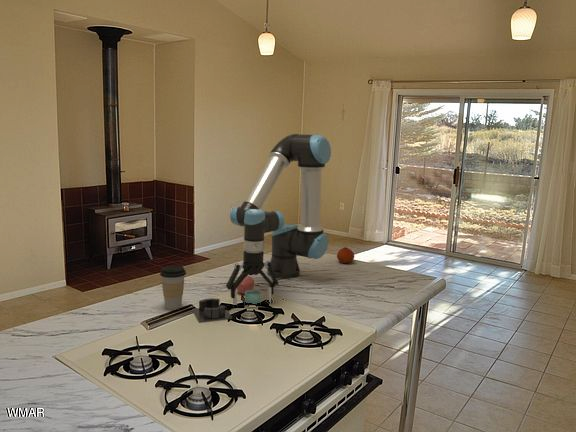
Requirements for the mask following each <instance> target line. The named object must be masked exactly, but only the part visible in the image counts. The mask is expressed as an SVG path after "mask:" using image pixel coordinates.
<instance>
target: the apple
mask: <svg viewBox="0 0 576 432" xmlns="http://www.w3.org/2000/svg"><path fill="white" fill-rule="evenodd" d="M254 288H255V280H254V278H253V277H252V276H251V275H248V276H247V277H245V278H244V280H243V281H242V282H241V283H240V284H239V286H238V287H237V288H236V290H237V292H239V293H240V294H244V295H245V291H247V290H254Z"/></svg>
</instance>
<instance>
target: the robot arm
mask: <svg viewBox="0 0 576 432" xmlns="http://www.w3.org/2000/svg"><path fill="white" fill-rule="evenodd" d="M331 148H332V147H331V144H330V141H329V140H328V139H327V137H325V136H323V135H318V134H300V133H299V134H298V133H291V134H289V135H287V136H285V137H283V138H282V139H281V140H280V141H278V142H277V143H276V145H274V146H273V148H272V149H271V150H270V152H269V154H268V158H269V159H268V160H267V162H266V164H265V165H264V167H263V169H262V170H261V172H260V174H259V175H258V177H257V179H256V180H255V183H254V184H253V185H252V187H251V189H250V191H249V192H248V194H247V195H246V197H245V199H244V200H243V203H242V204H241V206H235V207H233V208H232V209H231V210H230V214H229V219H230V221H231V223H232V224H233V225H235V226H239V227H244V229H243V232H244V233H243V234H244V235H243V258H242V261H243V262H242V264H240V263H239V264H238V262H237V263H235V264H234V269H233V271H232V273H231V275H230V276H229V278H228V281H227V283H226V285H225V288H227V290H230V298H231V299H232V306H233V305H237V306H238V290H237V287H238V286H239V284H240V283H241V282H242V281H243V280H244V278H245V277H247V276H258V275H259V274H260V275H261V277H262V278H263V279H264V281H265V282H267V286H266V301H267V300H269V302H270V304H272V295H274V288H275V286H278V285H280V284H279V281H278V279H293V278H294V279H295V278H298V277H299V276H300V273H301V272H300V271H301V270H300V265H299V262H298V258H297V256H300V257H304V258H308V259H312V260H313V259H315V260H318V259H321V258H322V257H323V256H324V255H325V253H326V252H327V250H328V246H329V236H328V235H327V234H326V233H324V226H322V225H321V205H322V204H321V203H322V199H321V198H322V171H323V170H324V169H325V168H326V164H328V163H329V161H330V158H331V155H332V149H331ZM293 162H297V167H298V168H299V169H300V172H301V177H300V178H301V180H300V181H301V184H300V190H301V192H300V224H299V225H297V224H285V219H286V218H285V215H284V214H283V213H282V212H281V211H278V210H275V211H274V210H273V211H265V210H263V209H262V207H263V205H264V204H265V202H266V201H267V199H268V197H269V195H270V194H271V191H272V190H273V188H274V187H275V185H276V183H277V182H278V180H279V178H280V177H281V174H282V172H283V170H284V169H285V168H287V167H288V166H289V165H290V164H291V163H293ZM271 232H272V234H271V257H270V260H267V261H266V262H264V250H265V245H264V244H265V234H266V233H271ZM264 267H265V268H266V269H267V272H266V273H267V274H266V273H265V272H264V271H263V269H264ZM242 269H243V270H242ZM241 270H242V271H241ZM240 271H241V273H240V274H239V272H240ZM238 275H239V276H238ZM267 275H268V276H270V278H271V279H270V278H269V277H268V276H267ZM237 276H238V277H237ZM277 278H278V279H277ZM271 280H272V281H271Z"/></svg>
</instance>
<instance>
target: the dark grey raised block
mask: <svg viewBox="0 0 576 432" xmlns="http://www.w3.org/2000/svg"><path fill="white" fill-rule="evenodd" d="M220 300H221V299H220V298H214V297H213V298H204V299H202V300H199V301H198V307H197V308H192V309H191V311H192V312H193V315H194V317H195V319H196V320H197V322H198V324H201V323H208V322H216V321H224V320H225V321H226V320H232V318H233V315H232V314H231V313H230V311H228V309H227V310H225V308H226V305H224V306H223V305H220Z"/></svg>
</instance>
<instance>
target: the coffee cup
mask: <svg viewBox="0 0 576 432" xmlns="http://www.w3.org/2000/svg"><path fill="white" fill-rule="evenodd" d="M186 274H187V271H186V269H185V267H184V266H182V265H166V266H163V267H162V268H161V270H160V273H159V275H160V276H161V286H162V294H163V298H164V306H165V307H164V308H165V310H168V311H176V310H175V309H177V310H179V309H178V308H180V309H181V308H182V301H183V295H184V286H185V275H186Z"/></svg>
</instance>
